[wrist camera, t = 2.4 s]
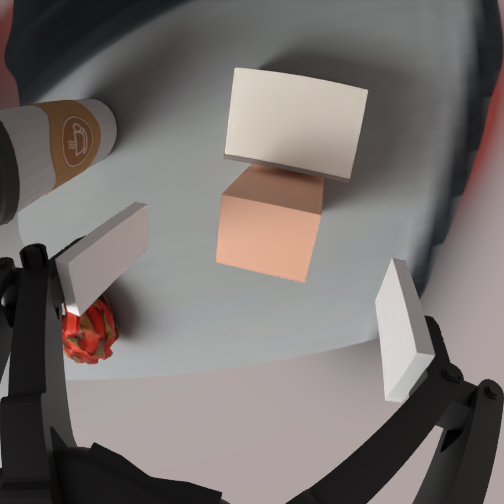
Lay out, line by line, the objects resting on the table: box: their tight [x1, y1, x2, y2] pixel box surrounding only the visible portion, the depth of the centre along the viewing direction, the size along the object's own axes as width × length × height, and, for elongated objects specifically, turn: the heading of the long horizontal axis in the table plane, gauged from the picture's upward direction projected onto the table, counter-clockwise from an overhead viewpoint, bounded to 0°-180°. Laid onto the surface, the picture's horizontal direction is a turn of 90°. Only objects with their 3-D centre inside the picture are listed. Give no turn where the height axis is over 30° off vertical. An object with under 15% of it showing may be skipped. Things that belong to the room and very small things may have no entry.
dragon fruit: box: [60, 293, 120, 364], centre depth 35 cm, size 8×8×12 cm
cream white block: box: [224, 68, 368, 184], centre depth 20 cm, size 6×8×5 cm
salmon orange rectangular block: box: [216, 164, 324, 282], centre depth 21 cm, size 4×5×10 cm
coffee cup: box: [0, 99, 117, 225], centre depth 20 cm, size 8×8×15 cm
